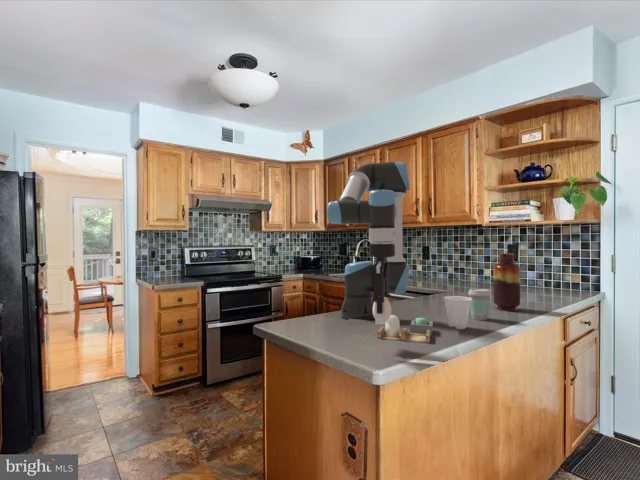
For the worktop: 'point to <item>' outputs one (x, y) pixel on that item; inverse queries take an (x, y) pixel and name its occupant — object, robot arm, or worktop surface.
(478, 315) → the coffee cup
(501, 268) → the vase
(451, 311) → the cup
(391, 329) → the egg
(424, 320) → the button
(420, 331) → the button collar
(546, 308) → the worktop surface
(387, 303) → the egg
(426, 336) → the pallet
